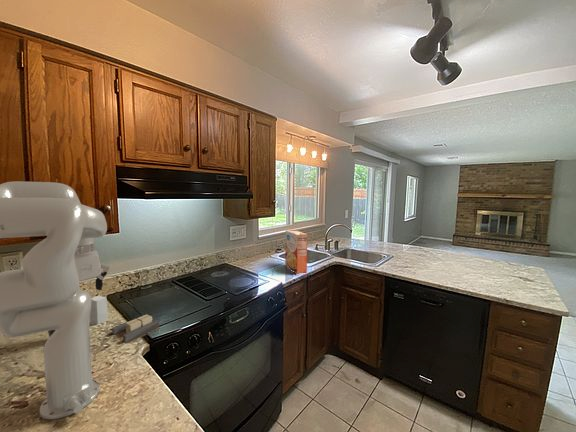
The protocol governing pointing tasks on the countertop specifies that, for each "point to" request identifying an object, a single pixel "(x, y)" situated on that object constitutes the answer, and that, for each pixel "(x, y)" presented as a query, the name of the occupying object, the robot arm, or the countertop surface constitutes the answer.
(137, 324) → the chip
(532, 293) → the countertop surface
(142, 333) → the slot block
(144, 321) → the beige cube
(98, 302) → the skincare box
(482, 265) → the countertop surface
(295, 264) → the pasta box
